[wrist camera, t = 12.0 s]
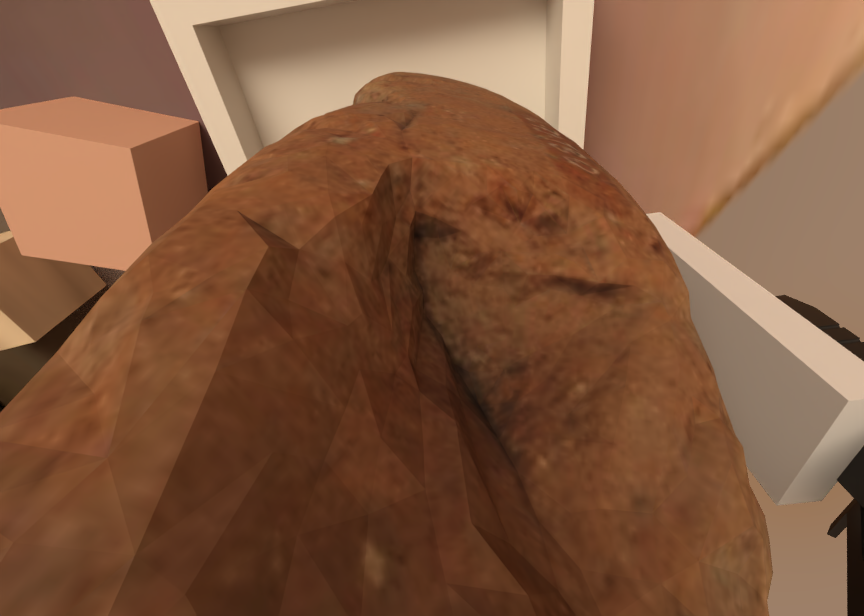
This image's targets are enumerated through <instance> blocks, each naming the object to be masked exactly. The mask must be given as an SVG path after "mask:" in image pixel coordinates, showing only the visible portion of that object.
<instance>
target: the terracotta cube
mask: <svg viewBox="0 0 864 616" xmlns="http://www.w3.org/2000/svg"><path fill="white" fill-rule="evenodd" d="M207 194H208V189H207V181H206V173H205V166H204V158H203V150H202V142H201V134H200V126H199V122H198V121H193V120H188V119H183V118H178V117H173V116H168V115H163V114H158V113H153V112H148V111H143V110H138V109H133V108H128V107H123V106H118V105H113V104H108V103H103V102H98V101H93V100H88V99H83V98H78V97H67V98H62V99H56V100H51V101H45V102H39V103H34V104H28V105H23V106H17V107H11V108H6V109H0V208H1V210H2V212H3V214H4V217H5V219H6V221H7V223H8V226H9V228H10V230H11V232H12V235H13V237H14V239H15V241H16V244H17V246H18V248H19V250H20V253H21V255H24V256H31V257H37V258H44V259H51V260H57V261H64V262H71V263H78V264H84V265H91V266H98V267H104V268H111V269H118V270H124V271H126V270H127V269H128V268H129V267H130V266H131V265H132V264H133V263H134V262H135V261H136V260H137V259H138V257H139V256H140V255H141V254H142V253H143V252H144V251H145V250H146V249H147V248H148V247H149V246H150V245H151V244H152V243H153V242H154V241H155V240H156V239H158V238H159V237H160V236H161V235H163V234H164V233H165V232H166V231H168V230H169V229H170V228H171V227H172V226H174V225H175V224H176V223H177V222H179V221H180V220H181V219H182V218H184V217H185V216H186V215H187V214H188V213H189V212H190V211H191V210H192V209H193V208H194V207H195V206H196V205H197V204H198V203H199V202H200V201H201V200H202V199H203V198H204V197H205V196H206V195H207Z"/></svg>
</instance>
